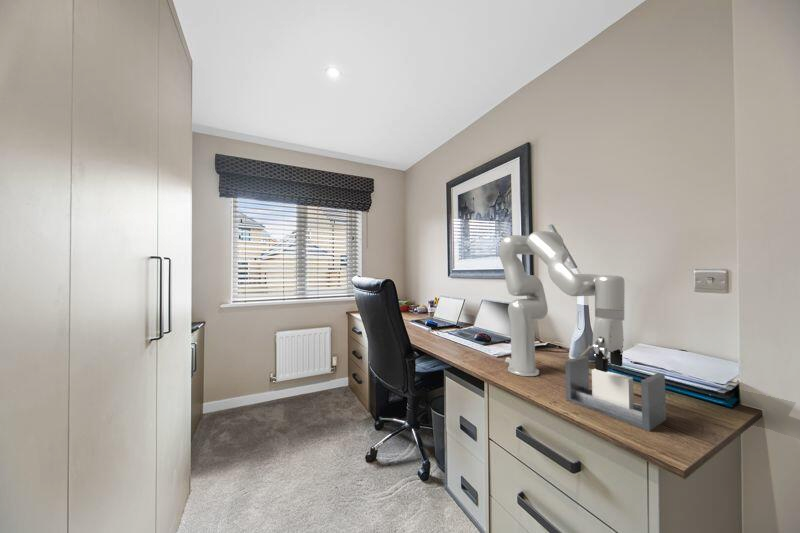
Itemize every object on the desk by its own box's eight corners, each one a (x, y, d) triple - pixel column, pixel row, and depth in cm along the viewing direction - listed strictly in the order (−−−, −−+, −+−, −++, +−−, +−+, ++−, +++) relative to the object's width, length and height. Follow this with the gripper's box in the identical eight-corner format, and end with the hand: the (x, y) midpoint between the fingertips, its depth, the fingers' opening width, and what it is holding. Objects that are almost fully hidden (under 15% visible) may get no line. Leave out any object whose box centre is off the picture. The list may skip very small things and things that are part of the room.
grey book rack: (566, 400, 94) (565, 361, 94) (584, 392, 100) (583, 355, 101) (649, 431, 75) (647, 382, 76) (666, 419, 81) (664, 374, 82)
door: (592, 400, 91) (591, 369, 92) (597, 398, 93) (596, 368, 93) (629, 413, 83) (628, 379, 83) (633, 411, 84) (632, 377, 85)
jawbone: (590, 379, 125) (616, 376, 112) (576, 384, 124) (600, 381, 110) (574, 349, 131) (596, 342, 118) (560, 353, 130) (581, 346, 116)
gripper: (608, 310, 96) (608, 359, 96) (582, 314, 88) (582, 369, 88) (635, 313, 90) (635, 366, 90) (609, 318, 81) (609, 377, 81)
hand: (608, 367), depth 89 cm, fingers open, 9 cm apart
